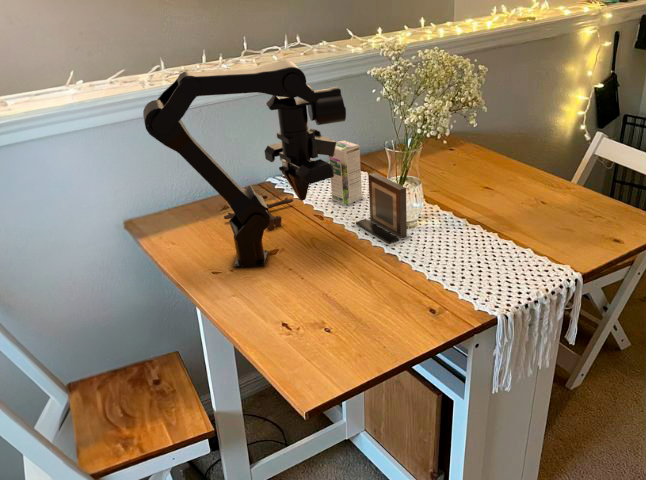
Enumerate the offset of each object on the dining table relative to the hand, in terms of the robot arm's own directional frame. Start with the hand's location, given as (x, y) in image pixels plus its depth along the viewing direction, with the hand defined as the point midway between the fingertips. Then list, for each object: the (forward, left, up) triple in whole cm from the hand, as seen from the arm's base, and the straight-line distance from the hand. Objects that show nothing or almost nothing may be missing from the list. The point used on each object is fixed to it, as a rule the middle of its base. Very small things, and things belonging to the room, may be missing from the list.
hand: (302, 199), depth 144 cm
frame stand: (+6, -15, -12) cm, 20 cm away
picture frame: (+8, -18, -12) cm, 23 cm away
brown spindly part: (+17, +12, -12) cm, 24 cm away
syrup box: (+26, -8, -12) cm, 30 cm away
